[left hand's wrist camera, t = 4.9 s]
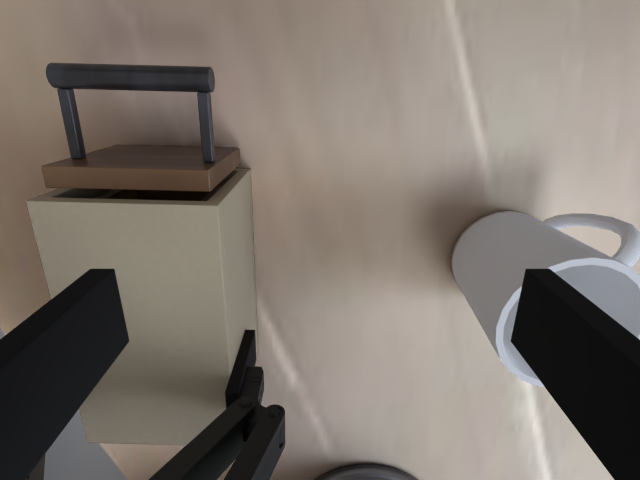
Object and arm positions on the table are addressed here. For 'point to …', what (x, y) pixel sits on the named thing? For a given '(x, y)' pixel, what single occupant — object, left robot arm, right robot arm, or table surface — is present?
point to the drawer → (139, 160)
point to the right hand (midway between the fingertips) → (179, 342)
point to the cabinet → (159, 301)
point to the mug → (542, 253)
